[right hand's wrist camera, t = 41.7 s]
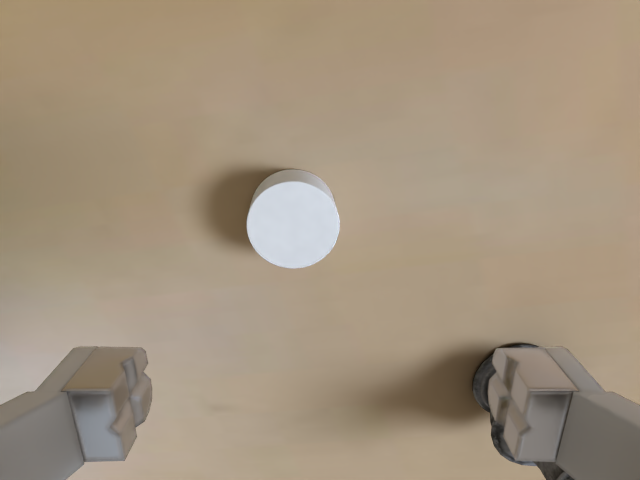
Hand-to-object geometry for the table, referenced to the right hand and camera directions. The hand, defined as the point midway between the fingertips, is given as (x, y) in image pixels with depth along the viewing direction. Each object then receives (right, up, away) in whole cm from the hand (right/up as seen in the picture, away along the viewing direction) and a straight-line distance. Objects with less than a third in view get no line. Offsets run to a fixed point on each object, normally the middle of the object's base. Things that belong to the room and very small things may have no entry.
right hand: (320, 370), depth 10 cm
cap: (-1, +4, +10) cm, 11 cm away
